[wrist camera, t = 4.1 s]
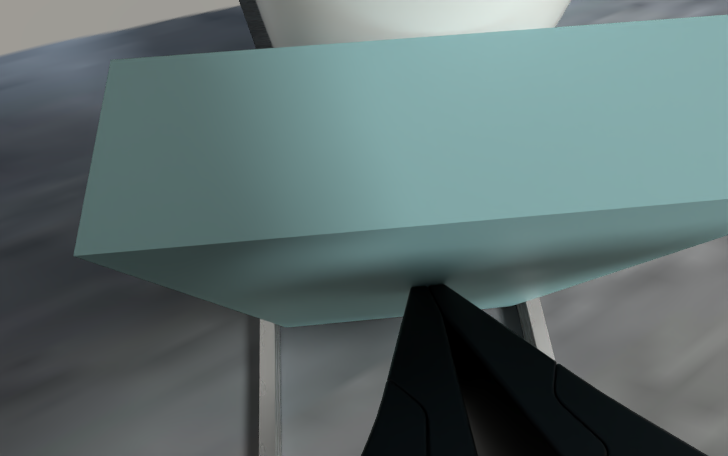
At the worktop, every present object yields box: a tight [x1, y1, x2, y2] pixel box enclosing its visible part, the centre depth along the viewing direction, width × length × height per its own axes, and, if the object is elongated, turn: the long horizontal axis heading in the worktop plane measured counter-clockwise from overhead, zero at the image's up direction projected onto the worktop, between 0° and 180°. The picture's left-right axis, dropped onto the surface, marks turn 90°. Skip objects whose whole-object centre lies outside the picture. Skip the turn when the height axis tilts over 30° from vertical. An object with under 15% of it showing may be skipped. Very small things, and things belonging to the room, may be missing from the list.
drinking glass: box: [255, 0, 572, 48], centre depth 11 cm, size 7×7×15 cm
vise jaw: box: [73, 15, 728, 327], centre depth 11 cm, size 3×10×12 cm, turn 95°
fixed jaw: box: [239, 0, 555, 456], centre depth 11 cm, size 20×12×12 cm, turn 5°
